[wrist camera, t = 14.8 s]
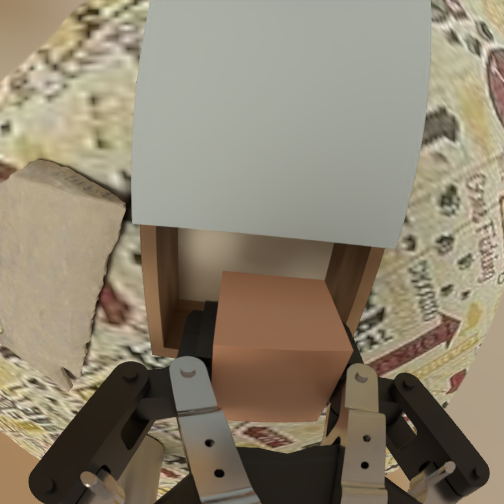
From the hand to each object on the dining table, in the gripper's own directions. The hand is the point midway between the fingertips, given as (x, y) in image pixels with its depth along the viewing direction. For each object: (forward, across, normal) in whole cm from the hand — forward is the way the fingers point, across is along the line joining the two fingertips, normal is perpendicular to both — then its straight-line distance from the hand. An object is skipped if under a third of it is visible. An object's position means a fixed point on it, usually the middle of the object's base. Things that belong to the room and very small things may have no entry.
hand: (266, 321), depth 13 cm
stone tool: (+8, +19, +6) cm, 22 cm away
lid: (+2, 0, -12) cm, 12 cm away
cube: (0, 0, 0) cm, 0 cm away
